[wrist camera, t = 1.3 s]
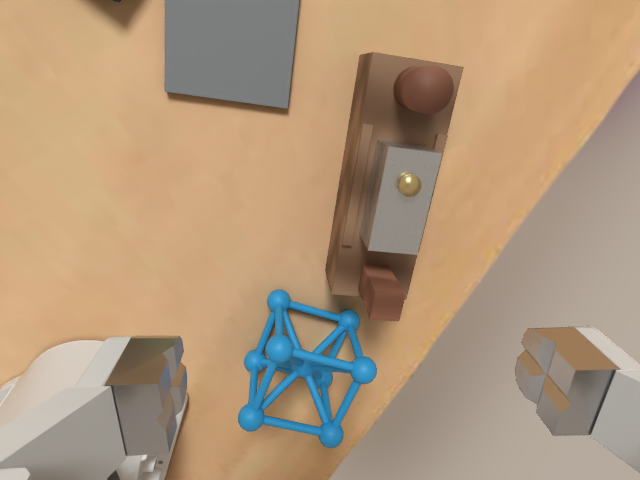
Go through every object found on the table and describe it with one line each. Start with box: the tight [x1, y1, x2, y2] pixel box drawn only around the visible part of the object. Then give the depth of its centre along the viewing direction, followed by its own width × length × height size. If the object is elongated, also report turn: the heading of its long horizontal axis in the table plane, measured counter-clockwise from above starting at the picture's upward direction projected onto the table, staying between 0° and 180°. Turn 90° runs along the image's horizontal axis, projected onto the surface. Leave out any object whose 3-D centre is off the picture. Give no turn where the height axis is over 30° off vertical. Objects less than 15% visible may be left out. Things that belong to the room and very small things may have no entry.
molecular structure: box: [238, 290, 377, 448], centre depth 40 cm, size 10×10×10 cm
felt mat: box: [165, 0, 299, 109], centre depth 32 cm, size 10×10×1 cm
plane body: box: [325, 52, 463, 321], centre depth 34 cm, size 20×7×10 cm, turn 172°
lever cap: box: [360, 139, 442, 255], centre depth 32 cm, size 8×4×4 cm, turn 172°
